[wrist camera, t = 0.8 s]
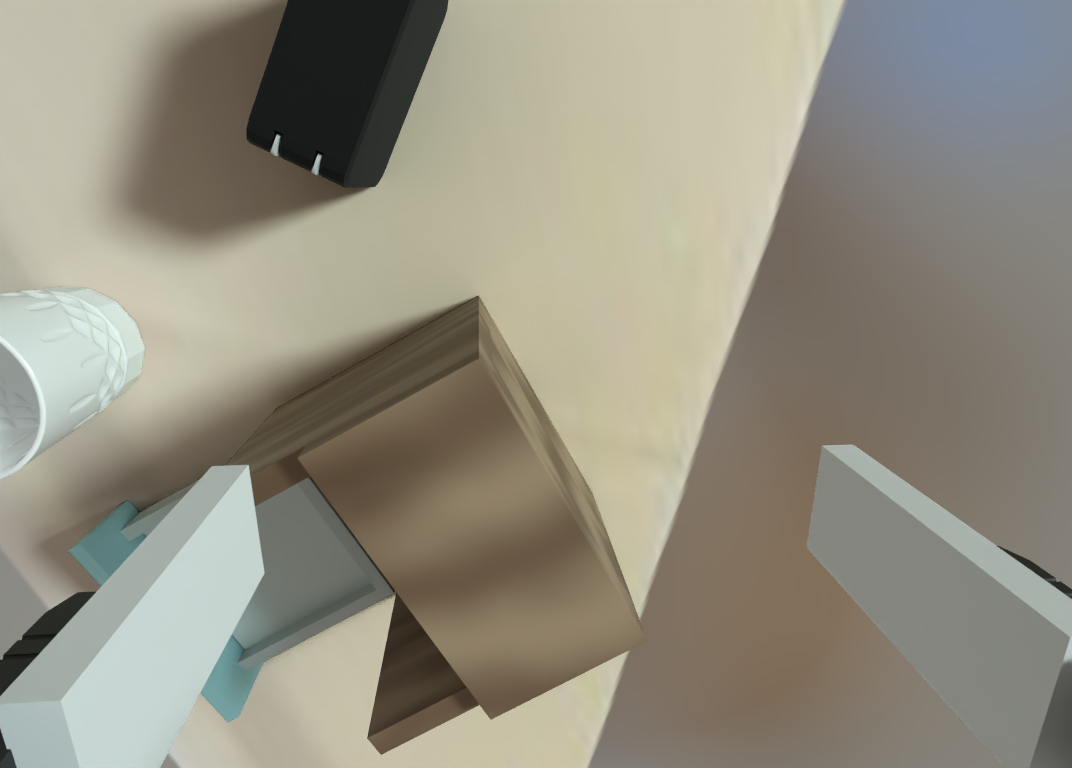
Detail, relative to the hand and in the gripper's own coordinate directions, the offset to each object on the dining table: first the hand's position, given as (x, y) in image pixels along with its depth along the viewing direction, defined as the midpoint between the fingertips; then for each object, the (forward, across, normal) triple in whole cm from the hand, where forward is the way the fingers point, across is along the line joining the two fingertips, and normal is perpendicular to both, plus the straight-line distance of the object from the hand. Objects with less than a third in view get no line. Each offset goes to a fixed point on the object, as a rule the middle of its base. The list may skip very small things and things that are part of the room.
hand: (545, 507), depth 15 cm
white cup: (+24, -24, -2) cm, 34 cm away
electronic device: (+25, -6, +12) cm, 28 cm away
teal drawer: (+24, -15, -15) cm, 32 cm away
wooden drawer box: (+24, -4, -9) cm, 26 cm away
